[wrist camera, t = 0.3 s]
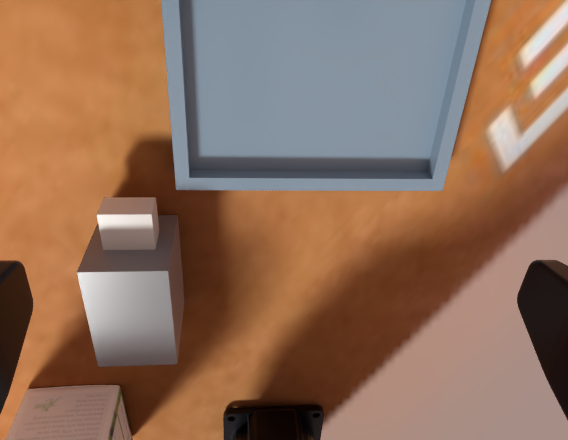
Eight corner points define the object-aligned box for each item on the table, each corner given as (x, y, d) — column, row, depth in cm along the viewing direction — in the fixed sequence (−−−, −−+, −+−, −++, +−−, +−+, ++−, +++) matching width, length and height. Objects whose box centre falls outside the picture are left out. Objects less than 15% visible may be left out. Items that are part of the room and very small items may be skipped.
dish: (432, 176, 24) (442, 190, 23) (179, 175, 23) (176, 190, 21) (504, -128, 17) (524, -130, 16) (155, -152, 16) (149, -156, 15)
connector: (184, 301, 27) (177, 364, 23) (116, 302, 27) (98, 367, 23) (175, 181, 23) (164, 234, 19) (95, 180, 23) (68, 235, 19)
